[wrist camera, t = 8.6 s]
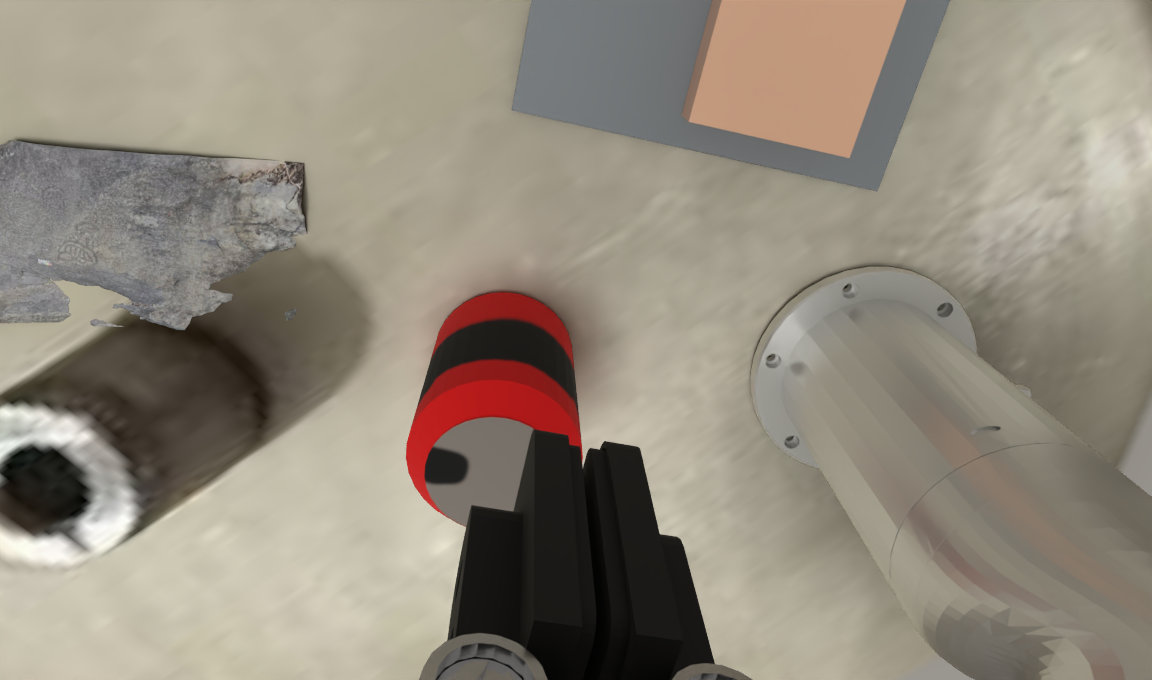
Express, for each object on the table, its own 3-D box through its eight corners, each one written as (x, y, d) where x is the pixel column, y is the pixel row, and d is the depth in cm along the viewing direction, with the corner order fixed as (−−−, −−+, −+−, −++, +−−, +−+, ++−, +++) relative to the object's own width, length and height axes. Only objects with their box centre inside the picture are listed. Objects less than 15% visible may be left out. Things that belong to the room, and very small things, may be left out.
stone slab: (-44, 333, 40) (-109, 139, 35) (-22, 318, 42) (-82, 130, 37) (316, 342, 42) (298, 158, 37) (323, 327, 43) (307, 149, 39)
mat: (960, -42, 36) (966, -43, 35) (873, 188, 40) (877, 191, 40) (559, -150, 33) (559, -152, 33) (512, 108, 37) (511, 110, 37)
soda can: (447, 277, 41) (414, 380, 30) (586, 304, 42) (603, 413, 31) (426, 400, 44) (389, 535, 33) (556, 422, 45) (562, 561, 34)
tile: (736, -91, 34) (903, -46, 35) (681, 115, 38) (834, 150, 39) (747, -96, 32) (923, -49, 33) (688, 121, 36) (849, 158, 37)
